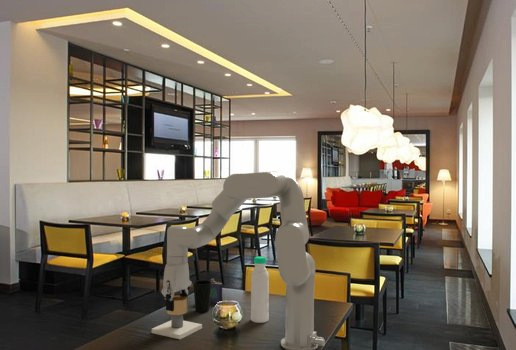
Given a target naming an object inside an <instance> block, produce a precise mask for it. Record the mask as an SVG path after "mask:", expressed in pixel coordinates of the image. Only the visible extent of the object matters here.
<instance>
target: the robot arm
mask: <svg viewBox="0 0 516 350" xmlns="http://www.w3.org/2000/svg"><path fill="white" fill-rule="evenodd" d="M222 185H223V186H222V190H221V192H220V193H219V194H218V195H217V196H216V197H215V198H214V200H212V202H211V206H212V208H211V209H212V210H211V211H210V212H209V215H208V216H207V217H206V218H205V220H203V221H202V222H201V224H200V225H196V226H192V227H186V226H184V225H173V226H172V225H171V226H169V227H168V228H167V230H166V231H167V232H166V234H167V235H166V240H167V241H166V242H167V243H166V264H165V267H164V271H163V279H162V280H163V281H162V282H163V283H162V288H161V291H160V292H161V294H162V296H163V297H164V300H165V310H166V312H167V311H174V300H173V297H174V296H175V294H176V293H179V292H180V294H179V296H186V297H187V306H188V300H189V299H188V297H189V293H190V292H189V291H190V289H191V286H192V285H193V282H192V281H191V280H190V269H189V263H188V260H189V258H188V257H189V256H188V251H189V249H193V250H194V249H199V248H200V247H203V246H206V245H208V244H210V243H211V242H213V240H214V239H215V238H216V237H217V236H218V235H219V234H220V233H221V231H223V230H224V228H225V226H226V225H227V224H228V222H229V221H230V219H231V217H232V216H233V215H234V214H235V213H236V212H237V211H238V210H239V208H241V207H242V205H243V204H244V203H245V202H246V201H247V200H249V199H250V200H251V199H269V198H273V197H277V198H278V199H279V211H280V212H279V213H280V219H281V220H280V221H281V225H280V226H279V227H278V228H277V230H276V232H275V236H274V237H275V239H274V240H275V241H274V245H275V251H276V258H277V267H278V273H279V276H280V278H281V280H282V281H283V282H284V283H285V284H286V285H285V329H284V330H285V337H283V338H282V339H280V346H281V347H282V348H284V349H285V350H316V349H318V347H319V346H322V347H325V344H326V340H325V337H322V336H318V335H317V331H314V328H315V323H314V321H315V320H314V319H315V309H314V308H315V307H314V306H315V281H316V262H315V260H314V258H313V256H312V255H311V254H310V253H308V252H307V251H306V244H308V242H309V238H310V231H309V224H308V221H307V220H308V218H307V210H306V206H305V198H304V194H303V190H302V187H301V185H300V183H299V182H298V181H297V180H296V179H295V178H294V177H293V176H291V175H290V174H287V173H284V172H281V171H261V172H250V173H232V174H230V175H229V176H227V177H226V179H224V181H223V184H222Z"/></svg>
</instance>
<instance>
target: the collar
mask: <svg viewBox="0 0 516 350" xmlns="http://www.w3.org/2000/svg"><path fill="white" fill-rule="evenodd" d="M173 300H174V311H167V310H166V313H167V314H168V315H170V316H171V315H181V314H183V315H185V314H187V313H188V305H187V297H186V296H180V295H174V297H173Z"/></svg>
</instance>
